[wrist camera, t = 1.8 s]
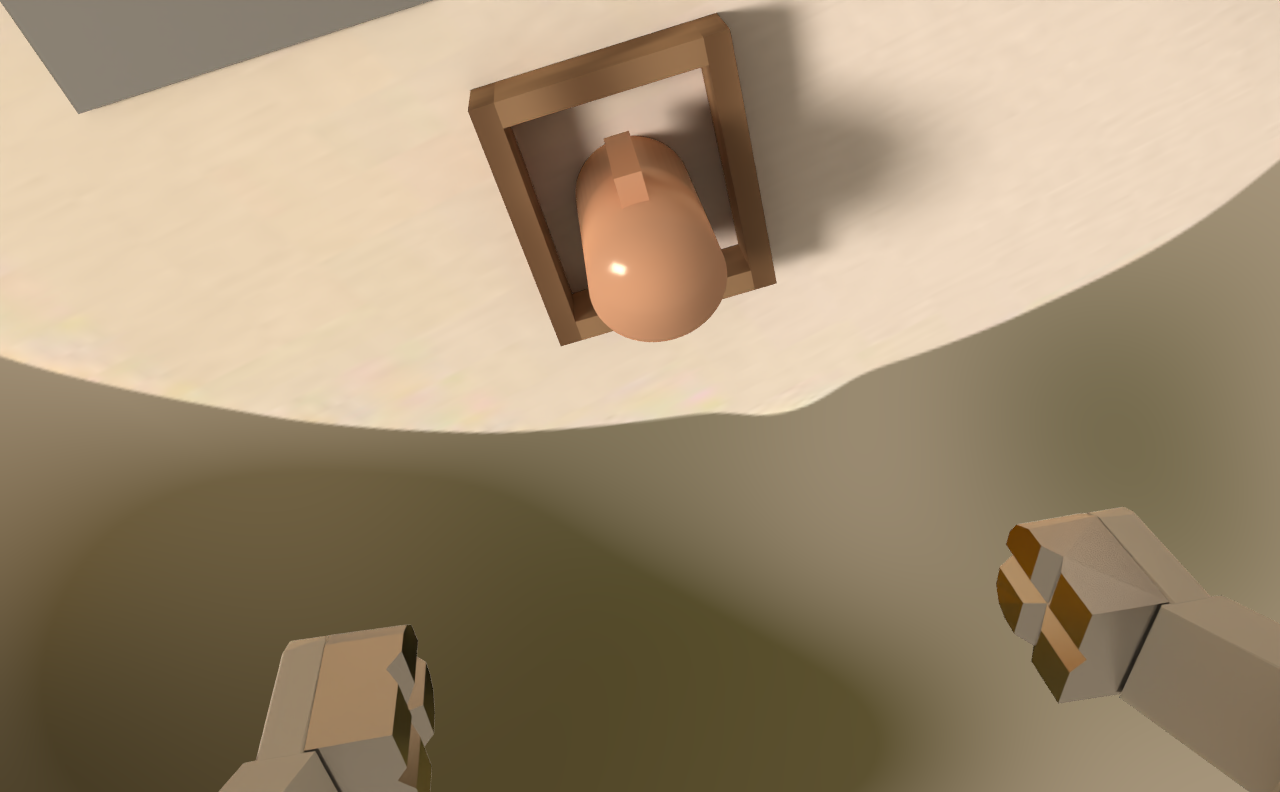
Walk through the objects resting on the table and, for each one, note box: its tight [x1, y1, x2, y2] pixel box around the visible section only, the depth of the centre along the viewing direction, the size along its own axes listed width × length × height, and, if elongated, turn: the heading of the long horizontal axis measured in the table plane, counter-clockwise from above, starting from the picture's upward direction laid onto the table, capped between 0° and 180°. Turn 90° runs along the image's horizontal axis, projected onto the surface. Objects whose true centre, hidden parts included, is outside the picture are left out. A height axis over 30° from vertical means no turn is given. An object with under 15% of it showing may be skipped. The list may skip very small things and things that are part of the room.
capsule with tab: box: [575, 131, 727, 342], centre depth 32 cm, size 5×6×8 cm
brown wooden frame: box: [468, 13, 777, 346], centre depth 35 cm, size 10×11×2 cm
